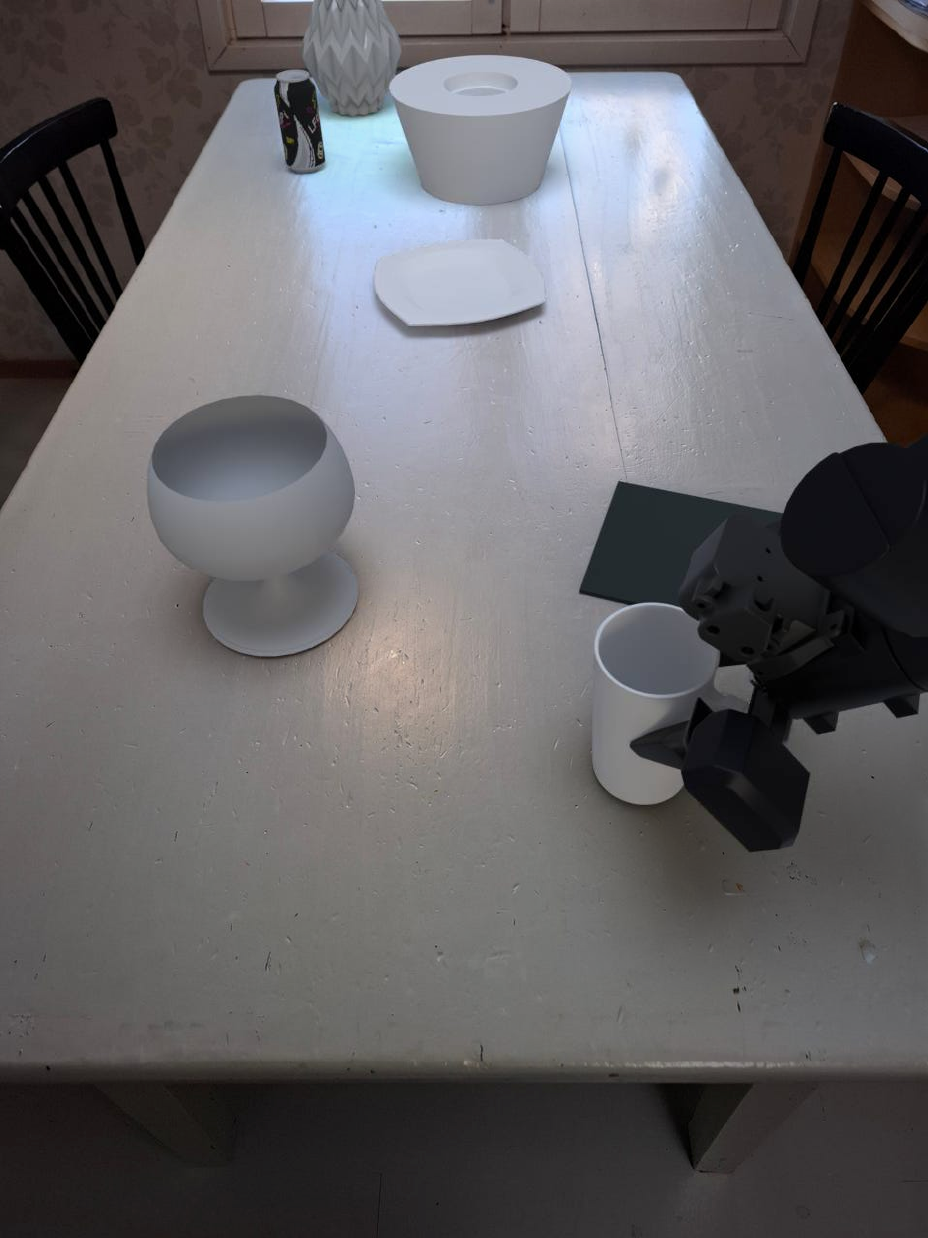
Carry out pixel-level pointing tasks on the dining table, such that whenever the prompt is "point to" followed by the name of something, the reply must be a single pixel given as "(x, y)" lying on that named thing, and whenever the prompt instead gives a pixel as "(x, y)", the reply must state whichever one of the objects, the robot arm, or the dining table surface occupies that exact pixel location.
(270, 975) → the dining table surface
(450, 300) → the plate
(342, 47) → the vase
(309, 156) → the beverage can
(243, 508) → the chalice
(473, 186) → the white tapered cylinder
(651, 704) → the mug
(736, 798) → the robot arm
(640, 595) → the mat
